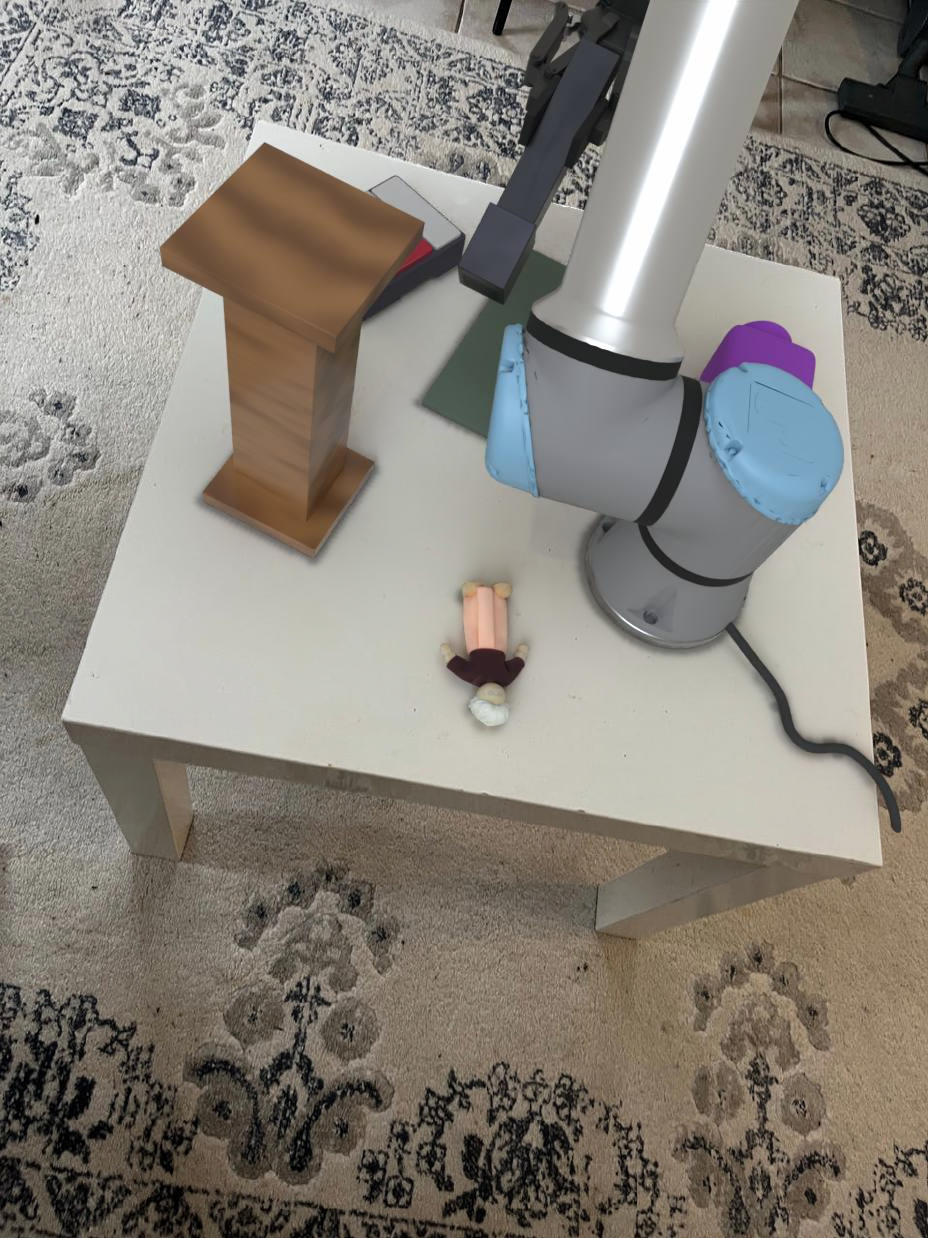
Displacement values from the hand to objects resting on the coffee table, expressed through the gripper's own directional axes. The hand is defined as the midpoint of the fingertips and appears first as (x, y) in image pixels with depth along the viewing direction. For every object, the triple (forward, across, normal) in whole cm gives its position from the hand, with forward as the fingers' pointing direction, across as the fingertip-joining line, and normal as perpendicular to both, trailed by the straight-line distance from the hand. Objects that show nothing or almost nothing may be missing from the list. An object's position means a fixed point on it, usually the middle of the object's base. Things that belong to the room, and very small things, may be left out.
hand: (549, 141), depth 74 cm
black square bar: (-1, 0, -4) cm, 4 cm away
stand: (+28, +8, -22) cm, 36 cm away
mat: (0, -4, -22) cm, 22 cm away
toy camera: (-5, -26, -22) cm, 35 cm away
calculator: (-2, +14, -22) cm, 27 cm away
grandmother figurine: (+29, -12, -20) cm, 37 cm away
